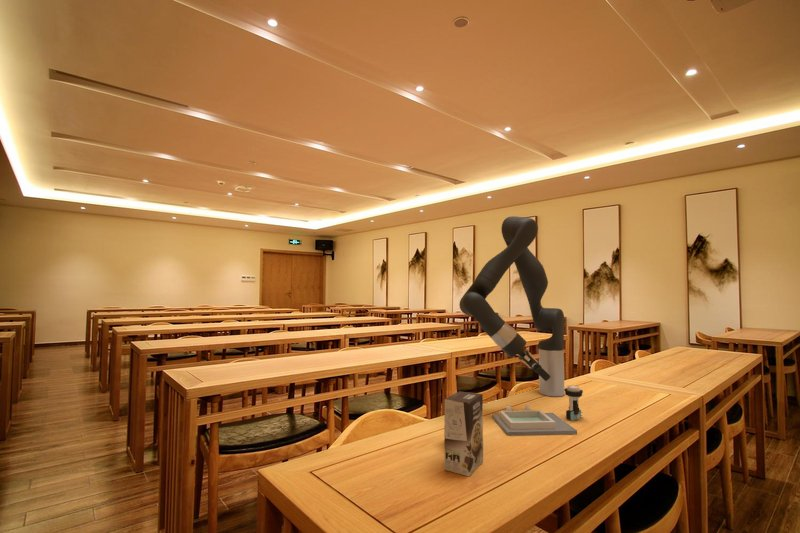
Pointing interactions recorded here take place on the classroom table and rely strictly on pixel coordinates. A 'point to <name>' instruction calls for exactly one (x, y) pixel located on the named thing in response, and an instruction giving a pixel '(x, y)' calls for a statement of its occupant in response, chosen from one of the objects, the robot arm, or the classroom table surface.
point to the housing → (531, 422)
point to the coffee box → (463, 432)
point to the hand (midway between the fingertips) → (545, 375)
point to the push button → (573, 402)
